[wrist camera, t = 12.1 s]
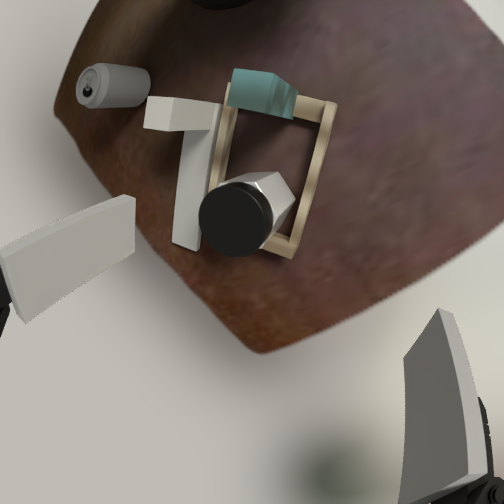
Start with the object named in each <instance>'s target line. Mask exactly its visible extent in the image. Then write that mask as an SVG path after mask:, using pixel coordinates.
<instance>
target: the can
mask: <svg viewBox="0 0 504 504" xmlns="http://www.w3.org/2000/svg"><path fill="white" fill-rule="evenodd" d="M150 86H151V81H150V76H149V74H148V72H147V71H146V70H145V69H142V68H138V67H131V66H124V65H116V64H107V63H97V64H95V65H93V66H90V67H87V68H86V69H85V70H84V71H83V72H82V73H81V75H80V77H79V79H78V82H77V86H76V96H77V100H78V101H79V103H80V104H82V105H85V106H86V107H87V108H114V107H136V106H139V105H140V104H141V103H142V102H144V100H145V99H146V97H147V95H148V93H149V91H150Z"/></svg>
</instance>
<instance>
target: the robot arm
mask: <svg viewBox="0 0 504 504" xmlns="http://www.w3.org/2000/svg"><path fill="white" fill-rule="evenodd" d="M192 1H193V2H195V3H197V4H198V5H200V6H202V7H205V8H209V9H227V8H232V7H236V6H239V5H242V4H244V3H247V2H249V1H251V0H192ZM135 204H136V198H134V197H131V196H128V195H125V194H124V195H121V196H118V197H115V198H113V199H110V200H107V201H104V202H102V203H99V204H97V205H94V206H91V207H89V208H86V209H84V210H81V211H79V212H76V213H74V214H72V215H69V216H67V217H65V218H62V219H60V220H57V221H56V222H53V223H51V224H49V225H46V226H44V227H42V228H40V229H38V230H35V231H33V232H31V233H29V234H27V235H25V236H23V237H21V238H19V239H17V240H15V241H13V242H11V243H9V244H7V245H5V246H3V247H1V248H0V337H1V334H2V332H3V329H4V326H5V323H6V321H7V318H8V316H9V312H10V307H9V303H11V302H12V303H13V305H14V308H15V311H16V313H17V315H18V316H19V317H20V318H21V320H22V321H23V322H24V323H25V324H27V323H28V322H29V321H31V320H32V319H33V318H35V317H36V316H37V315H39V314H40V313H42V312H43V311H45V310H46V309H48V308H49V307H50V306H51V305H53V304H55V303H56V302H58V301H59V300H61V299H62V298H63V297H65V296H66V295H68V294H69V293H71V292H72V291H73V290H75V289H77V288H78V287H80V286H81V285H83V284H84V283H86V282H88V281H89V280H91V279H92V278H94V277H95V276H97V275H98V274H100V273H102V272H103V271H105V270H106V269H108V268H109V267H111V266H113V265H114V264H116V263H117V262H119V261H121V260H122V259H124V258H125V257H127V256H129V255H130V254H132V253H134V252H135ZM403 359H404V374H405V442H404V457H403V469H402V478H401V486H400V494H399V500H398V504H428V503H431V504H504V480H503V479H501V478H500V477H494V470H493V457H492V447H491V439H490V436H489V434H490V431H489V426H488V425H487V424H488V419H487V414H486V409H485V407H484V405H483V403H482V401H481V399H480V397H477V392H476V388H475V384H474V379H473V376H472V372H471V368H470V365H469V361H468V358H467V354H466V351H465V348H464V345H463V342H462V339H461V335H460V333H459V330H458V327H457V324H456V322H455V319H454V316H453V314H452V313H450V312H448V311H445V310H443V309H440V308H438V309H437V310H436V312H435V314H434V315H433V317H432V319H431V320H430V321H429V323H428V324H427V326H426V327H425V329H424V330H423V332H422V333H421V335H420V336H419V337H418V339H417V340H416V342H415V343H414V344H413V346H412V347H411V349H410V350H409V351H408V353H407V354H406V355H405V357H404V358H403Z"/></svg>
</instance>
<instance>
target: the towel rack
mask: <svg viewBox="0 0 504 504" xmlns="http://www.w3.org/2000/svg"><path fill="white" fill-rule="evenodd" d="M299 93H300V92H298V91H297V90H296V89H294V88H293V87H292V86H290V85H289V84H288V83H286V82H285V81H284V80H282V79H281V78H279V77H278V76H277V75H275V74H274V73H268V72H261V71H254V70H245V69H235V68H234V71H233V76H232V80H231V83H230V82H228V86H227V91H226V95H225V100H224V105H223V110H222V115H221V120H220V125H219V131H218V136H217V141H216V147H215V152H214V158H213V164H212V170H211V176H210V182H209V189H208V193H209V192H210V191H211V190H213V189H215V188H217V187H218V184H219V183H222V182H224V180H225V175H226V169H227V164H228V159H229V153H230V148H231V143H232V138H233V133H234V128H235V123H236V118H237V113H238V108H241V109H246V110H251V111H255V112H260V113H264V114H269V115H274V116H278V117H283V118H287V119H291V120H293V119H294V117H298V118H302V119H306V120H310V121H314V122H317V123H321V126H320V130H319V134H318V138H317V141H316V145H315V149H314V153H313V157H312V161H311V165H310V168H309V172H308V176H307V179H306V183H305V187H304V191H303V194H302V198H301V201H300V205H299V209H298V212H297V216H296V219H295V223H294V226H293V230H292V233H291V237H288V236H285V235H282V234H279V233H276V232H275V234H274V235H273V236H272V237H271V238H270V239H269V240H268V242H267V243H266V244H265V245H264V246H263V247H262V249H265V250H267V251H270V252H273V253H276V254H278V255H281V256H284V257H287V258H289V259H292V257H293V256H294V254H295V252H296V250H297V249H298V246H299V242H300V239H301V236H302V233H303V229H304V226H305V223H306V220H307V216H308V213H309V209H310V206H311V203H312V199H313V196H314V192H315V189H316V185H317V182H318V178H319V175H320V171H321V167H322V164H323V160H324V156H325V153H326V149H327V145H328V141H329V137H330V133H331V130H332V126H333V122H334V118H335V114H336V110H337V104H336V103H333V102H329V101H326V102H325V101H321V100H317V99H313V98H309V97H305V96H301V95H299ZM198 226H199V222H198Z"/></svg>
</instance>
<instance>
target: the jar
mask: <svg viewBox="0 0 504 504" xmlns="http://www.w3.org/2000/svg"><path fill="white" fill-rule="evenodd" d="M294 202H295V197H294V195H293V194H292V192H291V190H290V189H289V187H288V186H287V184H286V183H285V181H284V180H283V178H282V176H281V175H280V173H279V172H251V173H246V174H243V175H241V176H238V177H235V178H232V179H230V180H227V181H224V182H222V183H219V184H218V187H217V188H215V189H213V190H211V191H210V192H209V193H208V194H207V195H206V196H205V197H204V199H203V200H202V202H201V205H200V208H199V213H198V220H199V226H200V229H201V232H202V234H203V236H204V238H205V239H206V241H207V242H208V243H209V245H210V246H211V247H213V248H214V249H215V250H216V251H218V252H220V253H221V254H224V255H226V256H230V257H245V256H248V255H250V254H252V253H254V252H255V251H257V250H258V249H261V248H262V247H263V246H264V245H265V244H266V243H267V242H268V240H269V239H270V238H271V237H272V236H273V235H274V234H275V232H276V231H277V230H278V229H279V228H280V227H281V225H282V224H283V222H284V220H285V218H286V217H287V215H288V213H289V211H290V209H291V207H292V205H293V203H294Z"/></svg>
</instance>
